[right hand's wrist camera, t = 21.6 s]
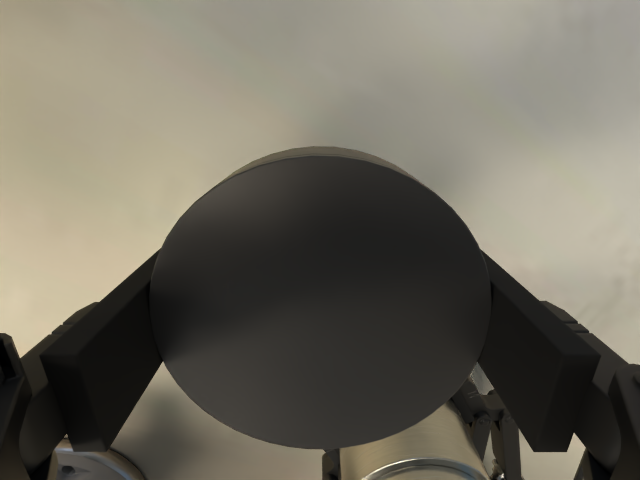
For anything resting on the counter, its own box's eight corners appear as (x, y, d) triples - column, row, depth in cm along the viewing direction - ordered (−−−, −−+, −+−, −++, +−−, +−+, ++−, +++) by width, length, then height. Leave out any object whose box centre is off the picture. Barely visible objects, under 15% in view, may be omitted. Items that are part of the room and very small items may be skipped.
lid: (310, 70, 10) (307, 60, 7) (520, 283, 12) (562, 320, 10) (123, 298, 12) (83, 336, 10) (326, 435, 15) (328, 489, 12)
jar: (357, 406, 36) (383, 610, 21) (317, 340, 33) (317, 527, 18) (442, 375, 34) (532, 572, 20) (409, 303, 31) (487, 474, 17)
